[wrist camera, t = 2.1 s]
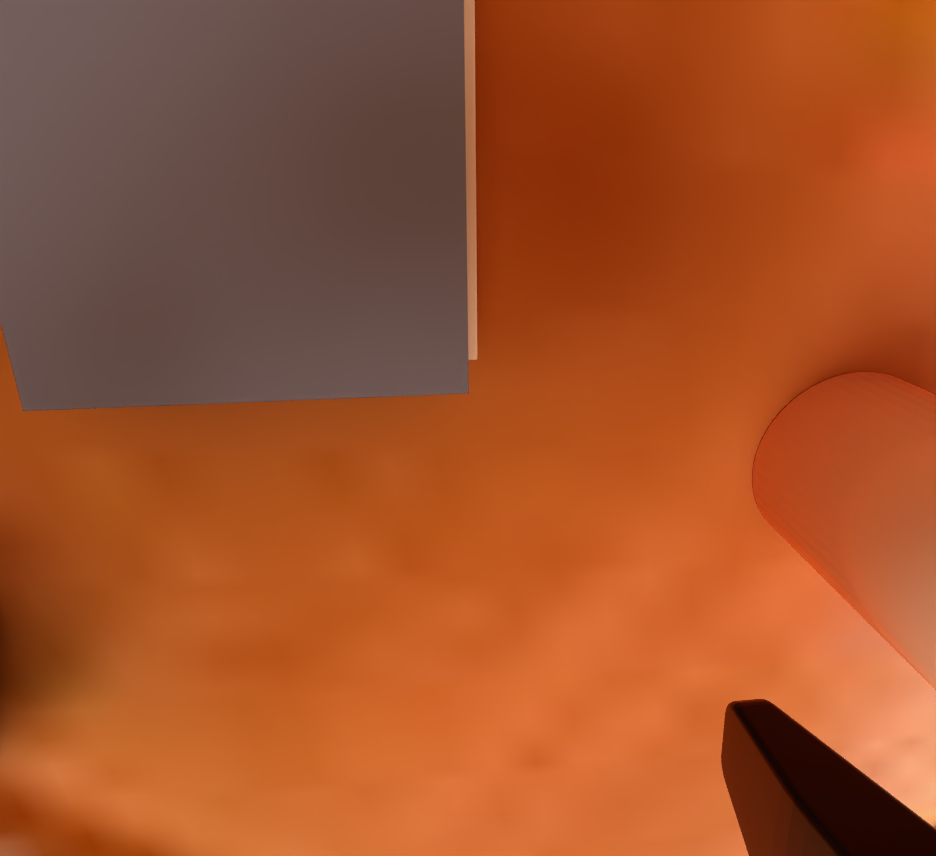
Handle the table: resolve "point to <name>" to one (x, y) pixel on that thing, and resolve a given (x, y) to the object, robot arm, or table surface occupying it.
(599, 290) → the table surface
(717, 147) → the table surface
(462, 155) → the gray book
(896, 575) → the pen cup
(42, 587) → the table surface
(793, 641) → the table surface
